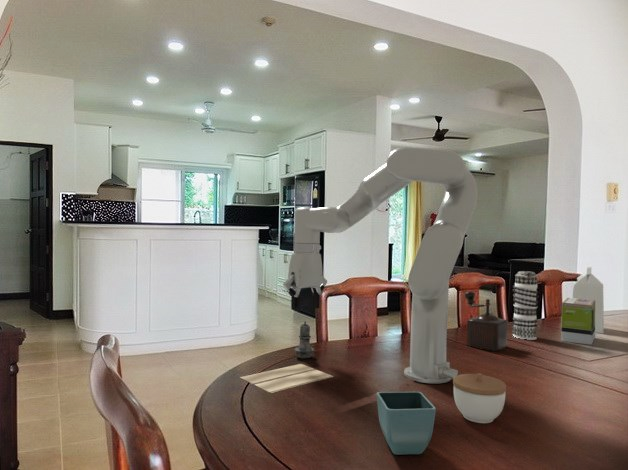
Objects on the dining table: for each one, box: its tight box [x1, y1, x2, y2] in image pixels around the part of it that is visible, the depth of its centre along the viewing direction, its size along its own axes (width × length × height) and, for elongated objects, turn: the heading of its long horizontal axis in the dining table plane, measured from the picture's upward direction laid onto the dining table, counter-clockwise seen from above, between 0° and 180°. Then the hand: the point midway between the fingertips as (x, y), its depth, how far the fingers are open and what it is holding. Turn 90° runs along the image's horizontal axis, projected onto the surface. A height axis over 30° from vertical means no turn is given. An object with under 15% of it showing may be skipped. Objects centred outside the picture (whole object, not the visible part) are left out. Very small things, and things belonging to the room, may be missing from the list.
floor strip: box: [239, 363, 316, 385], centre depth 121 cm, size 6×20×1 cm, turn 130°
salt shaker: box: [294, 320, 315, 360], centre depth 137 cm, size 6×6×12 cm
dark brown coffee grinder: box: [463, 291, 508, 352], centre depth 162 cm, size 16×11×18 cm
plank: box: [254, 369, 335, 394], centre depth 116 cm, size 7×20×1 cm, turn 131°
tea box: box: [560, 297, 596, 346], centre depth 173 cm, size 15×10×15 cm, turn 144°
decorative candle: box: [511, 270, 540, 341], centre depth 175 cm, size 9×9×25 cm
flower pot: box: [376, 391, 437, 456], centre depth 84 cm, size 9×9×9 cm
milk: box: [572, 266, 605, 334], centre depth 193 cm, size 12×12×26 cm
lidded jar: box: [452, 372, 507, 424], centre depth 98 cm, size 11×11×9 cm
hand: (305, 308), depth 137 cm, fingers open, 7 cm apart
